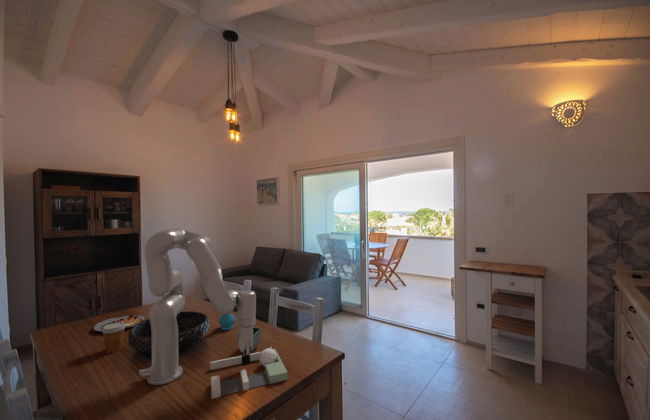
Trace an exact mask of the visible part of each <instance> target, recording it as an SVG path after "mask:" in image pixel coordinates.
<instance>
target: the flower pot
mask: <svg viewBox="0 0 650 420" xmlns="http://www.w3.org/2000/svg"><path fill="white" fill-rule="evenodd" d="M261 335H262V328H261V327H256V326H253V349H252V350H251V349H250V352H254V350H255V349H256V348H257V347H258V345H259V342H260V340H261ZM238 339H239V332H237V340H238Z"/></svg>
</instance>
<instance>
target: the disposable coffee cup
mask: <svg viewBox="0 0 650 420" xmlns="http://www.w3.org/2000/svg"><path fill="white" fill-rule="evenodd" d="M125 327H126V325H125V323H124V322H115V323H111V324H107V325H105V326H104V327H103V329H102V331H101V332H102V335H103V337H102V338H103V343H104V347H105V353H107V354H112V353H111V352H113V353H117V352H118V351H120V349H121V350H122V348H123V344H124V335H125V329H126V328H125ZM116 351H117V352H116Z"/></svg>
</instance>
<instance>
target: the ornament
mask: <svg viewBox="0 0 650 420" xmlns="http://www.w3.org/2000/svg"><path fill="white" fill-rule="evenodd" d="M272 349H273V348H272V346H270V347H269V348H265V349H264V350H262V353H261V354H260V360H259V362H260V365H262V366H263V367H264V368H265V365H267V364H271V363H275V362H276V353H275V351H274V350H272Z"/></svg>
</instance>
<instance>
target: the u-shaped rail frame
mask: <svg viewBox="0 0 650 420" xmlns="http://www.w3.org/2000/svg"><path fill="white" fill-rule="evenodd" d="M272 350H274V351H275V353H276V361H275V363H271V364H267V365H265V367H264V371H261V372H257V373H252V374H248V373H247V370H246V369H245V368H244V369H241V370H240V372H239V374H240V377H235V378H231V379H226V380H223V381H221V380H220V379H221V378H220V374H219V375H214V376H211V377H210V390H211V394H210V395H211V400H212V399H217V398H221V397H224V396H228V395H229V396H230V395H233V394H236V393H240V392H244V391H247V390H252V389H256V388H260V387H264V386H267V385H268V386H269V385H271V384H275V383H280V382H283V381H286V380H287V381H288V370H287V369H286V367H285V365H284V363H283V360H282V359H281V357H280V355H279V353H278V352H277V350H276V348H272ZM262 351H263V350H262ZM262 351H257V352H253V353H252V352H251V353H250V363H251V362H255V361H260V354H261V353H262ZM209 363H210V366H209V367H210V371H214V370H218V369H223V368H227V367H230V366H237V365H242V355H239V356H232V357H228V358H224V359H219V360H218V359H217V360H213V361H210V362H209Z"/></svg>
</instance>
